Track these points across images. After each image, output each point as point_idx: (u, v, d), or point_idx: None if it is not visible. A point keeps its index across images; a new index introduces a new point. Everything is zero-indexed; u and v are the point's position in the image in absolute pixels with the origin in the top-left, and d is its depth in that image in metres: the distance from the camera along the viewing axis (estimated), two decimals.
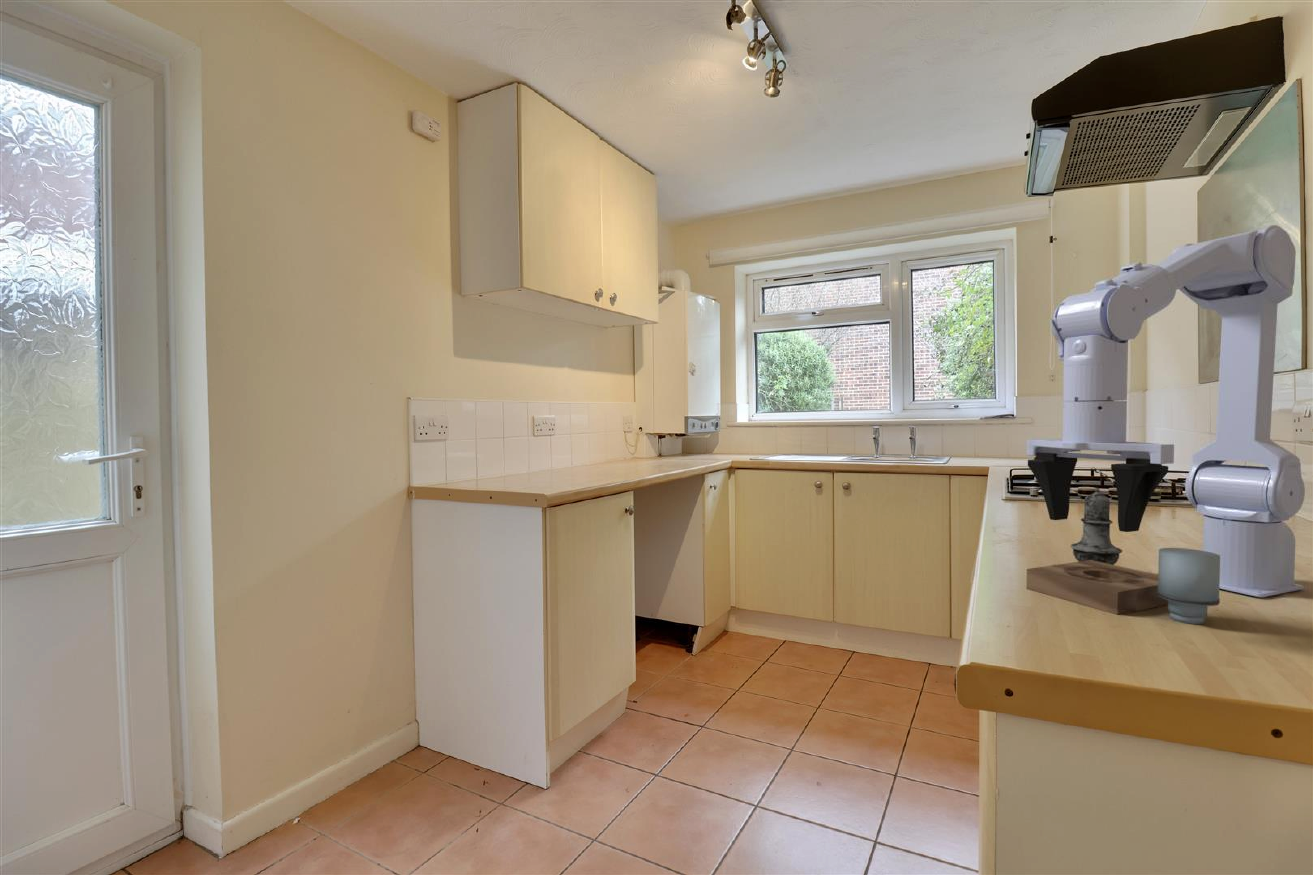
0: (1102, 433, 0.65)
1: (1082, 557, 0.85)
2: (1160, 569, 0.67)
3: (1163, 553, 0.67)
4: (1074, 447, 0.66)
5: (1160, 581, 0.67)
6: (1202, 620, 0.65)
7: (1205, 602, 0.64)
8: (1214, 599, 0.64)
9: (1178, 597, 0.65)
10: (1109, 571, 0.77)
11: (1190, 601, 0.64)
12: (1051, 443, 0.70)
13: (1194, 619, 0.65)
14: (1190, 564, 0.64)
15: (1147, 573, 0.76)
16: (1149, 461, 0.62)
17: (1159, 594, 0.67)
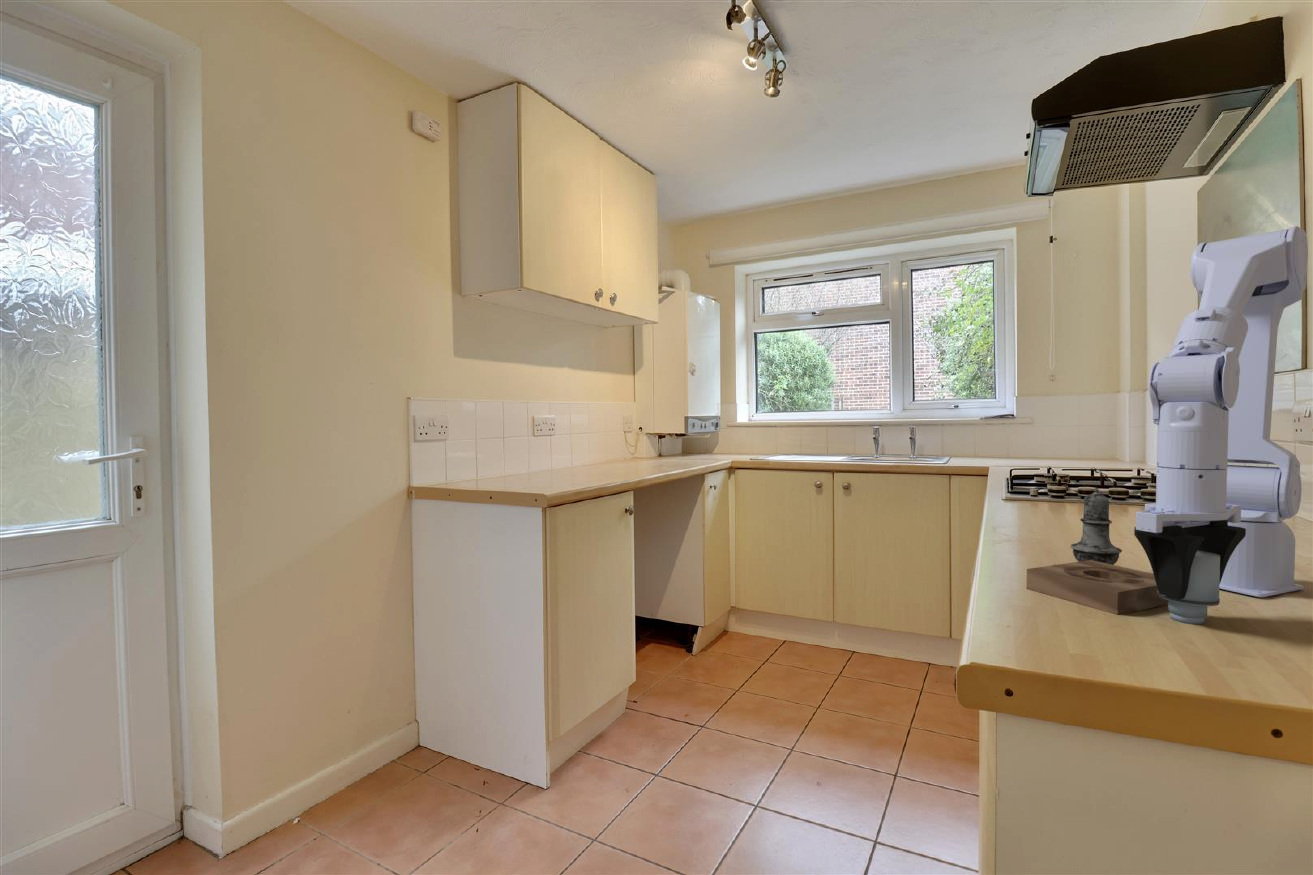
0: (1158, 498, 0.67)
1: (1082, 557, 0.85)
2: None
3: None
4: None
5: None
6: (1202, 620, 0.65)
7: (1205, 602, 0.64)
8: (1214, 599, 0.64)
9: None
10: (1109, 571, 0.77)
11: (1190, 601, 0.64)
12: None
13: (1194, 619, 0.65)
14: None
15: (1147, 573, 0.76)
16: None
17: (1159, 594, 0.67)
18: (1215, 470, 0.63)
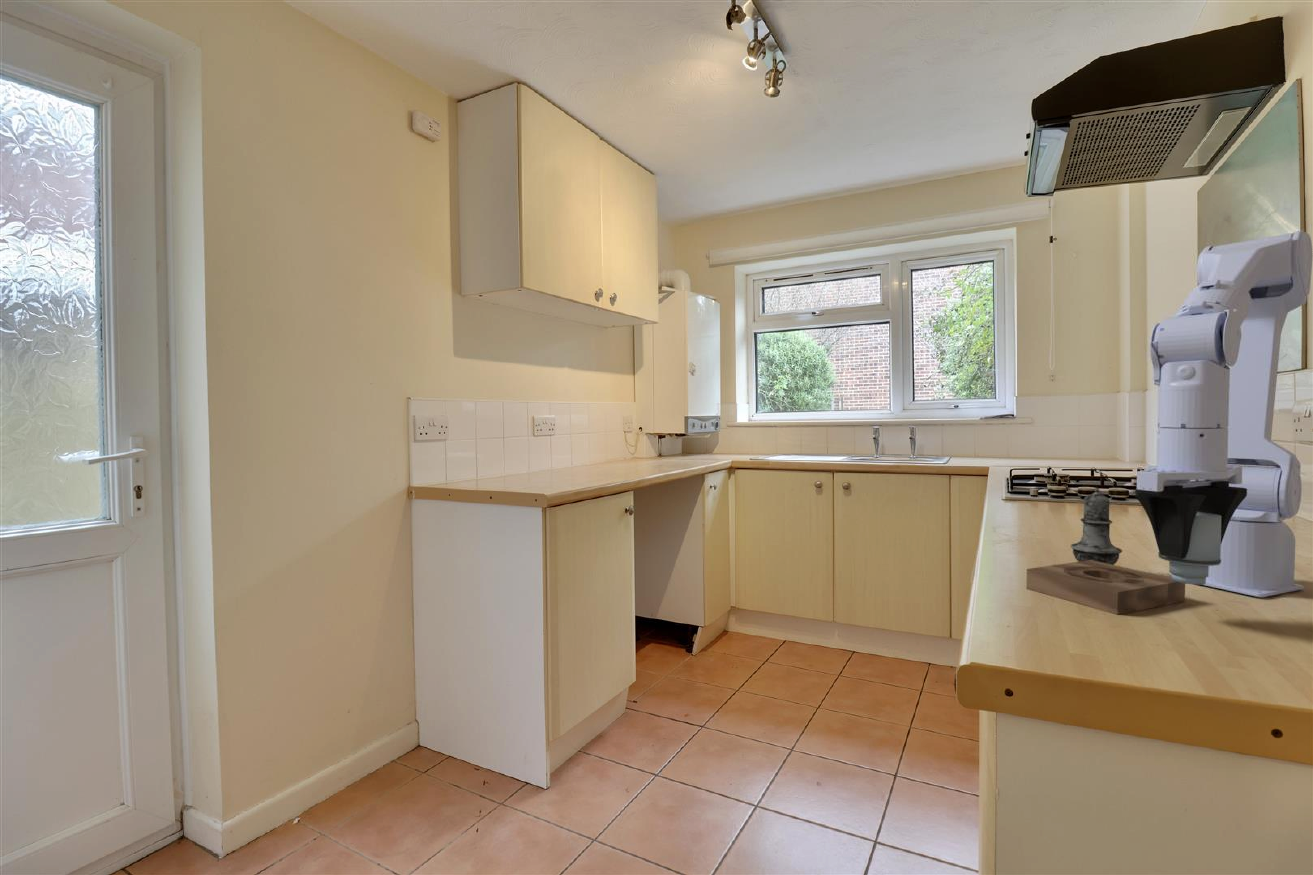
0: (1159, 459, 0.67)
1: (1082, 557, 0.85)
2: None
3: None
4: None
5: None
6: (1203, 580, 0.65)
7: (1206, 562, 0.64)
8: (1216, 558, 0.64)
9: None
10: (1109, 571, 0.77)
11: (1191, 561, 0.64)
12: None
13: (1195, 579, 0.65)
14: None
15: (1147, 573, 0.76)
16: None
17: (1160, 556, 0.67)
18: (1216, 429, 0.63)
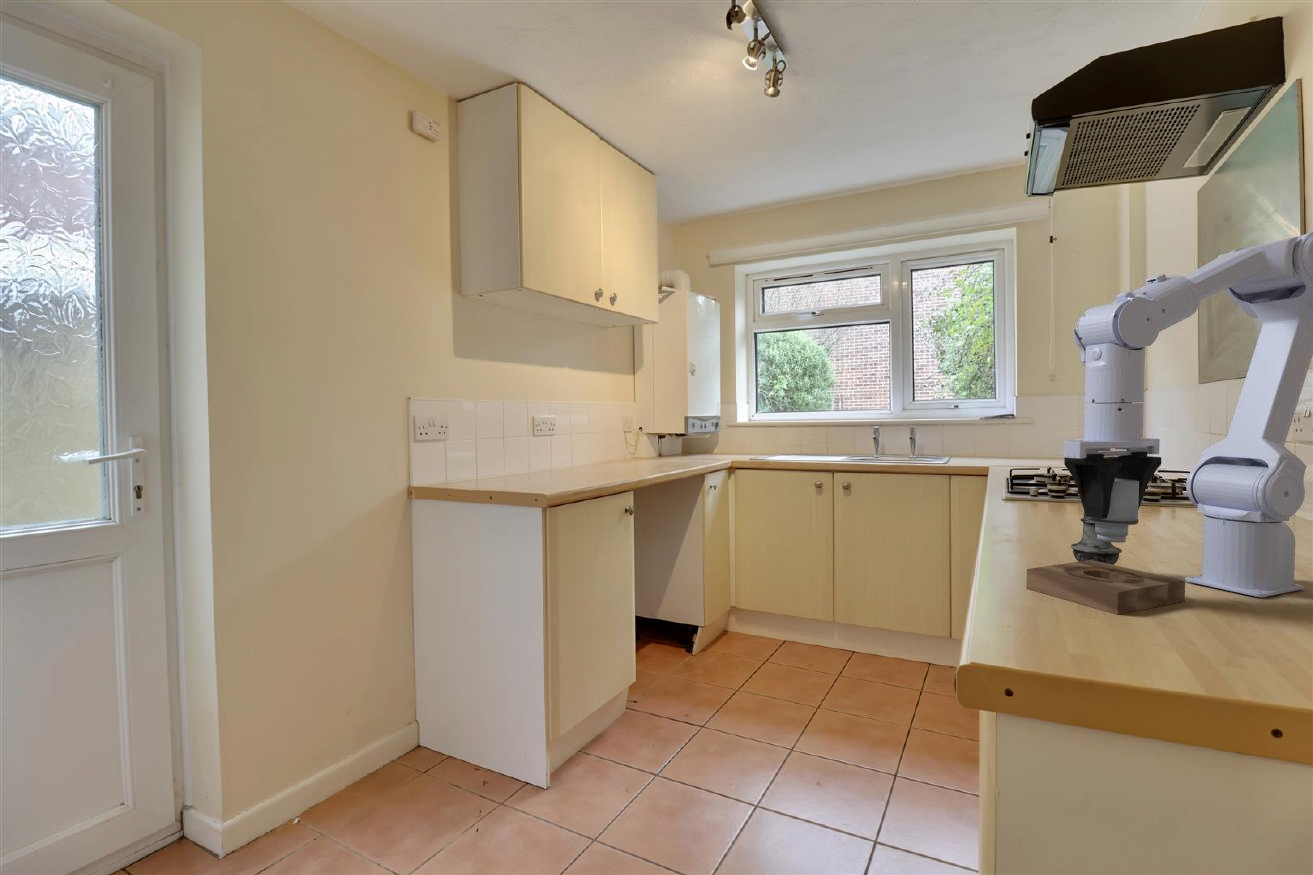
0: (1085, 431, 0.75)
1: (1082, 557, 0.85)
2: None
3: None
4: None
5: None
6: (1123, 539, 0.73)
7: (1124, 521, 0.72)
8: (1133, 519, 0.72)
9: None
10: (1109, 571, 0.77)
11: (1111, 521, 0.72)
12: None
13: (1116, 538, 0.73)
14: (1112, 488, 0.72)
15: (1147, 573, 0.76)
16: None
17: (1087, 518, 0.75)
18: (1132, 403, 0.71)
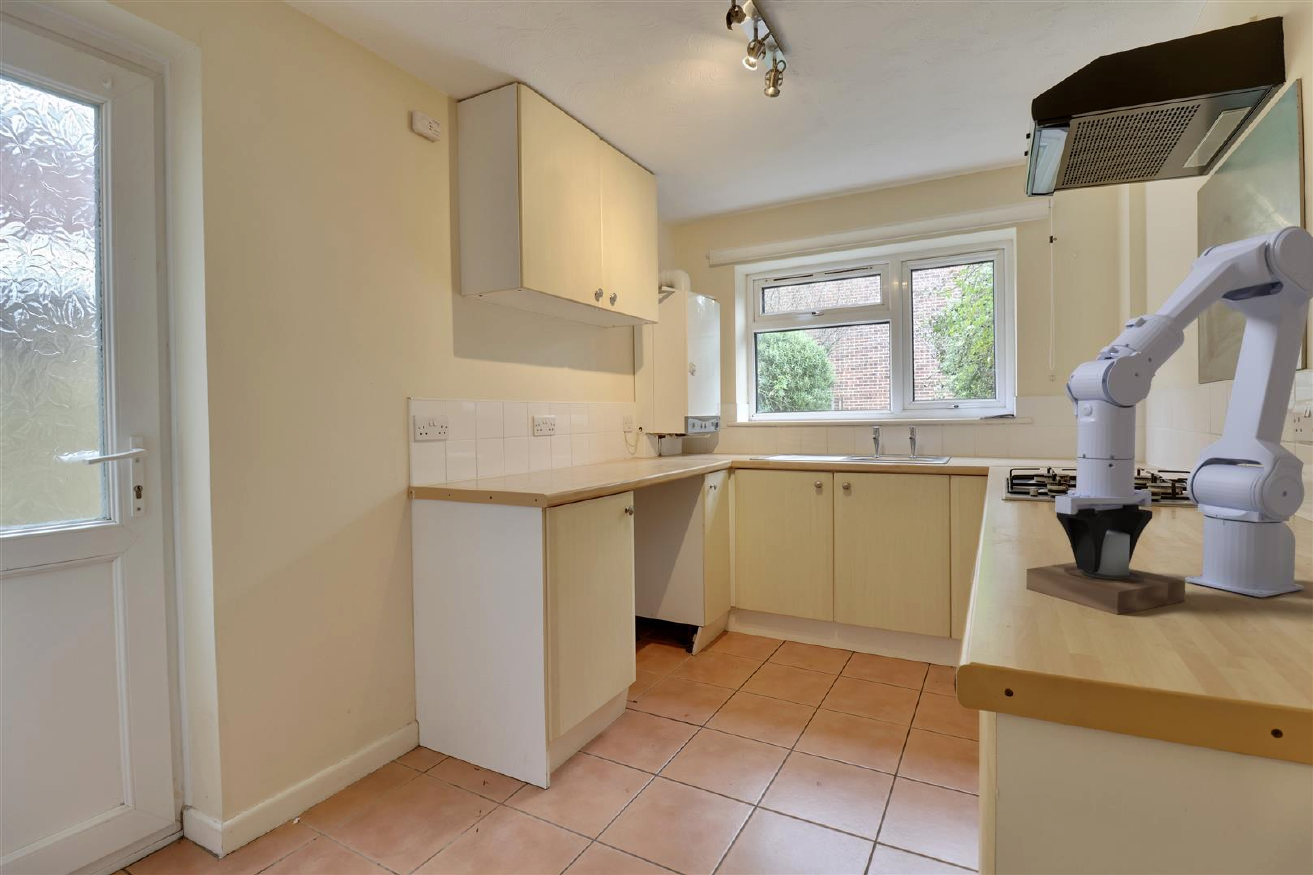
0: (1077, 484, 0.76)
1: None
2: None
3: None
4: (1068, 494, 0.79)
5: None
6: None
7: (1115, 575, 0.73)
8: (1123, 573, 0.73)
9: None
10: None
11: (1102, 575, 0.74)
12: None
13: None
14: (1103, 542, 0.73)
15: (1147, 573, 0.76)
16: None
17: (1079, 569, 0.76)
18: (1123, 460, 0.72)
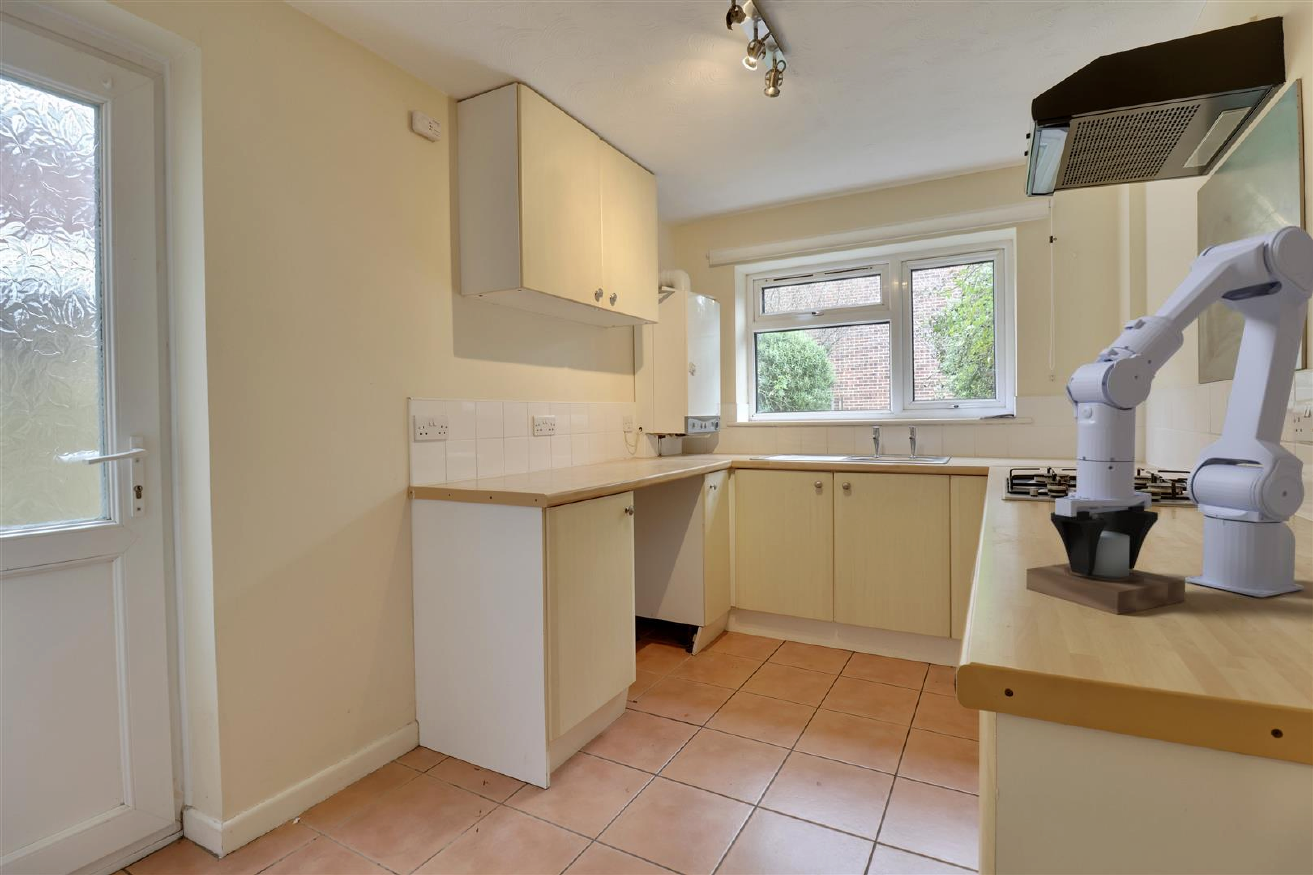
0: (1077, 487, 0.76)
1: None
2: None
3: None
4: (1068, 496, 0.79)
5: None
6: None
7: (1115, 576, 0.73)
8: (1123, 574, 0.73)
9: (1093, 572, 0.74)
10: None
11: (1102, 576, 0.74)
12: None
13: None
14: (1102, 543, 0.73)
15: (1147, 573, 0.76)
16: None
17: None
18: (1123, 462, 0.72)
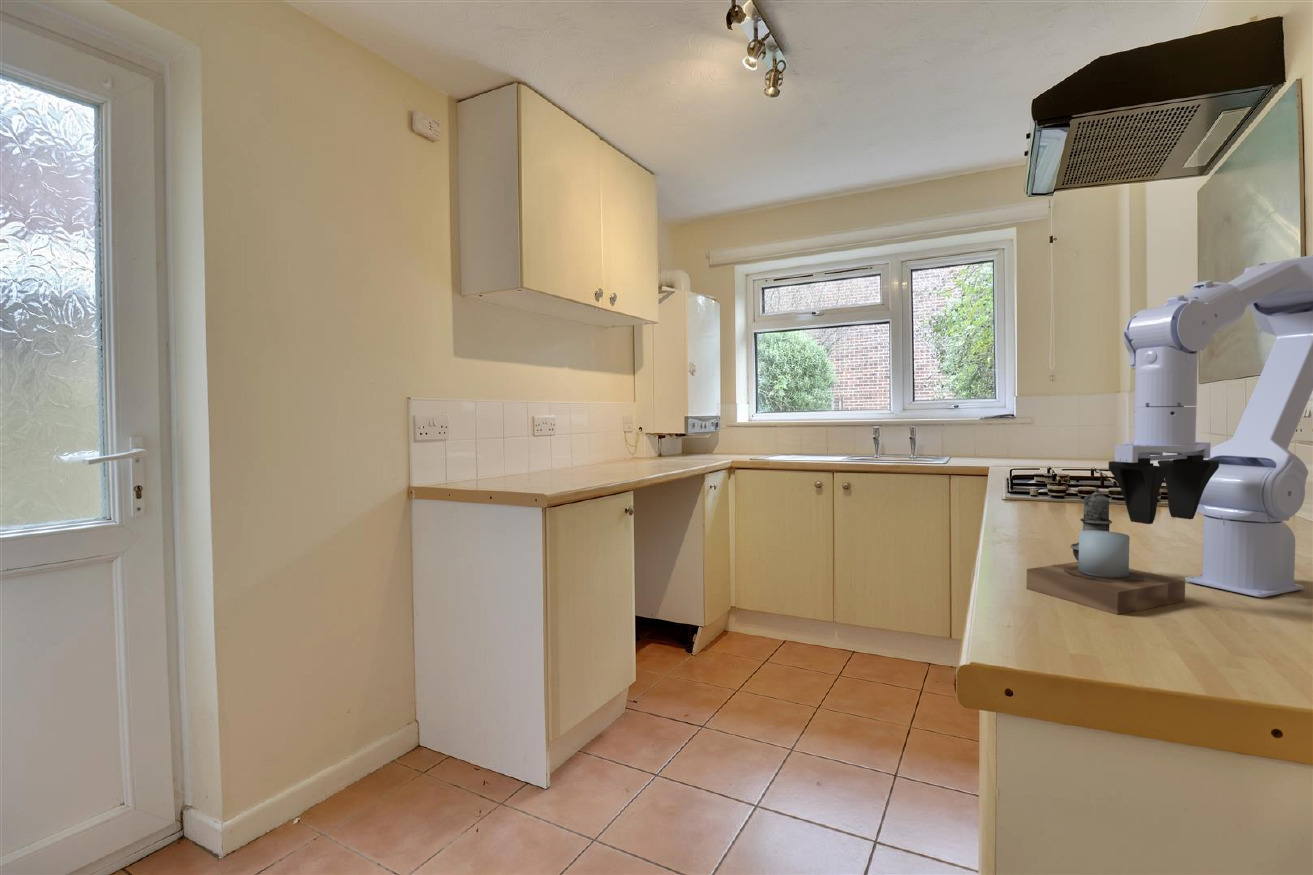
0: (1135, 435, 0.74)
1: None
2: (1079, 548, 0.76)
3: (1081, 534, 0.76)
4: None
5: (1080, 559, 0.76)
6: None
7: (1115, 576, 0.73)
8: (1123, 574, 0.73)
9: (1093, 572, 0.74)
10: None
11: (1102, 576, 0.74)
12: None
13: None
14: (1102, 543, 0.73)
15: (1147, 573, 0.76)
16: None
17: (1079, 571, 0.76)
18: (1185, 407, 0.71)
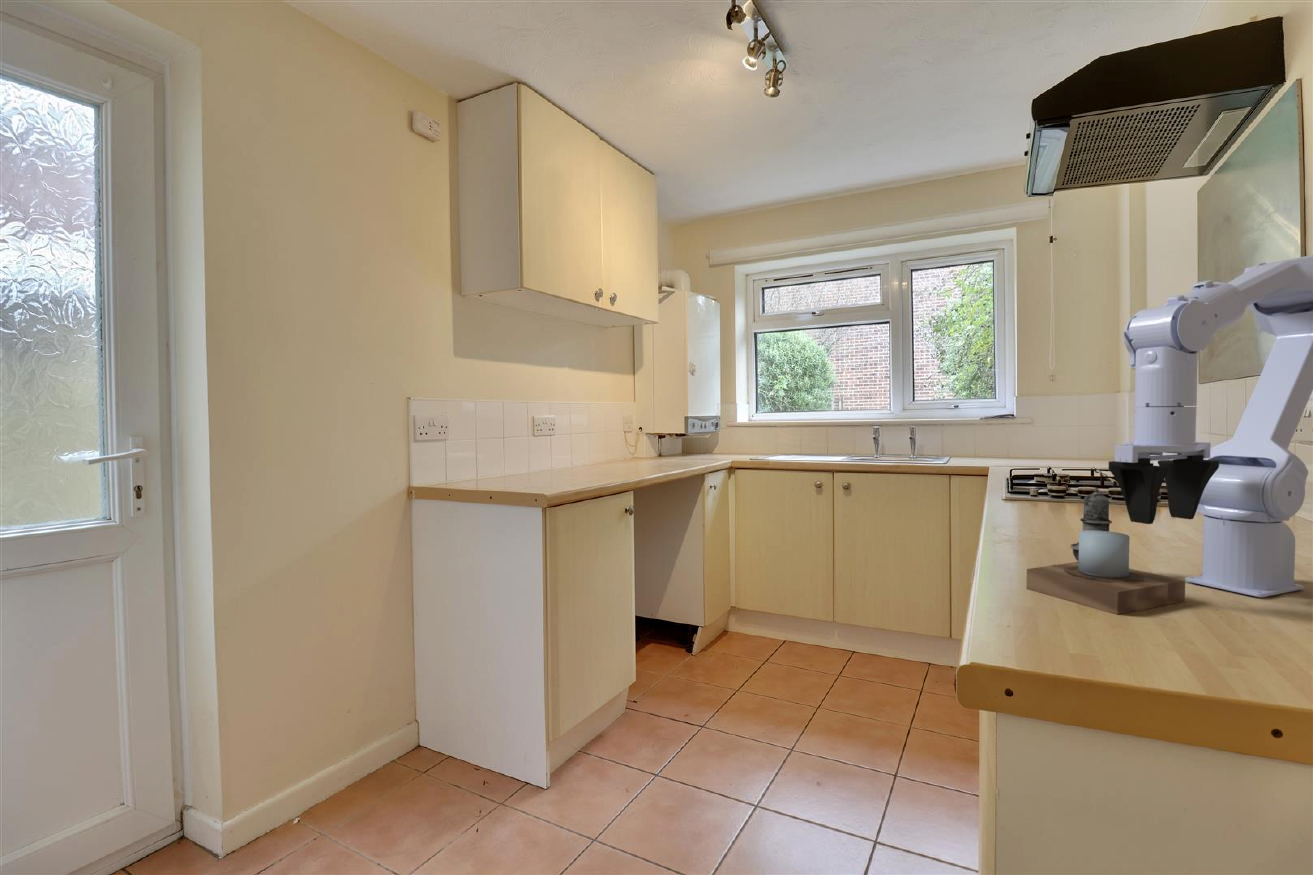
0: (1135, 435, 0.74)
1: None
2: (1079, 548, 0.76)
3: (1081, 534, 0.76)
4: None
5: (1080, 559, 0.76)
6: None
7: (1115, 576, 0.73)
8: (1123, 574, 0.73)
9: (1093, 572, 0.74)
10: None
11: (1102, 576, 0.74)
12: None
13: None
14: (1102, 543, 0.73)
15: (1147, 573, 0.76)
16: None
17: (1079, 571, 0.76)
18: (1185, 407, 0.71)
